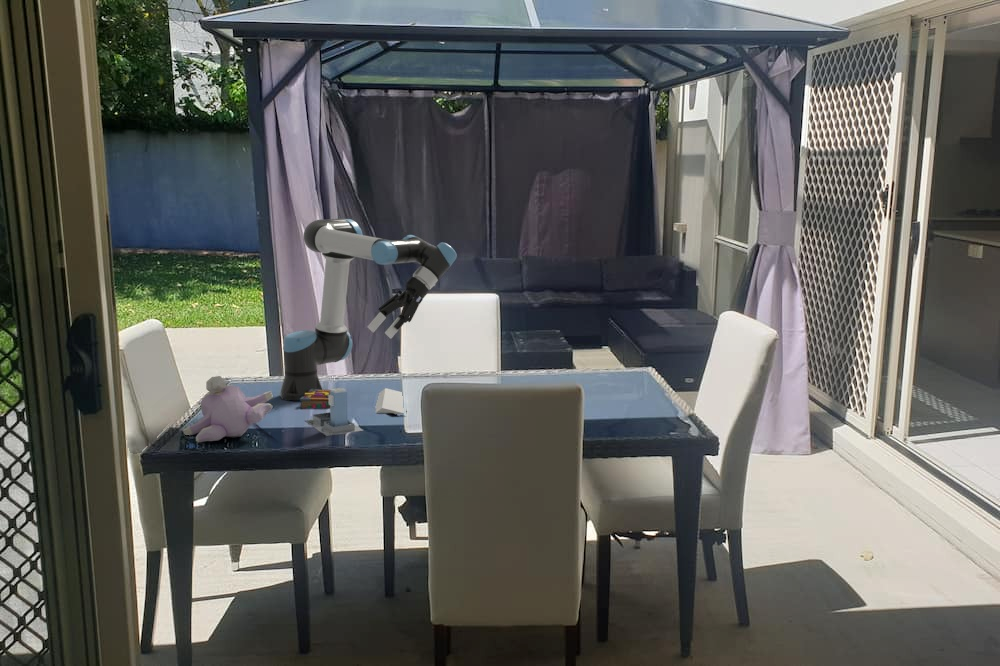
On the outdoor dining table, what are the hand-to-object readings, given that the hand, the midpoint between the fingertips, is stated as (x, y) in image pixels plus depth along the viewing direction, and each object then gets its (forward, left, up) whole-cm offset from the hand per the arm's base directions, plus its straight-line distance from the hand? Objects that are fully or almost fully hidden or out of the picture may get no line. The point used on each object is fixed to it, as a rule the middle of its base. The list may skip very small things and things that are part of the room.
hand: (378, 332), depth 277 cm
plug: (+4, -16, -28) cm, 33 cm away
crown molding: (-19, +12, -31) cm, 38 cm away
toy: (-15, -44, -30) cm, 56 cm away
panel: (-1, -16, -30) cm, 34 cm away
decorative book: (-31, -9, -30) cm, 44 cm away
